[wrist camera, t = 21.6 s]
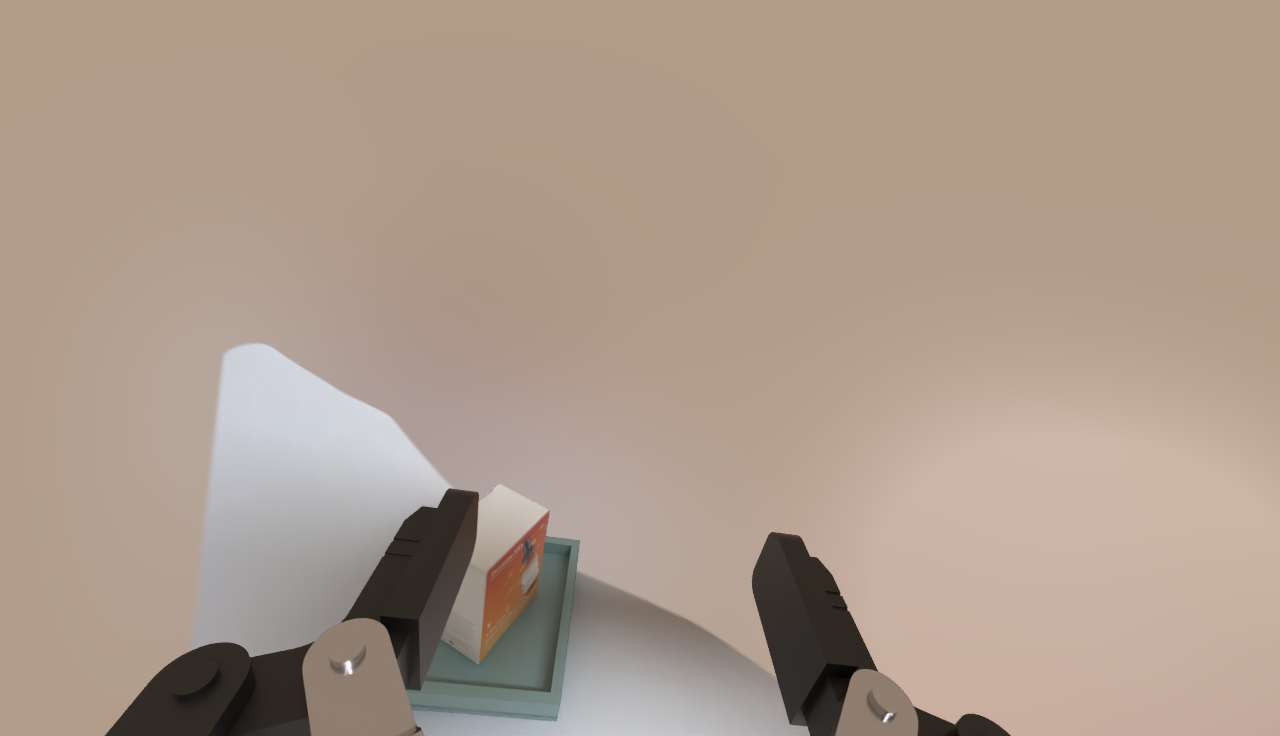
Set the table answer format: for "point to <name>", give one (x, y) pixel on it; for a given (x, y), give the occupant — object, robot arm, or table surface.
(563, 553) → the tray
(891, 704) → the robot arm
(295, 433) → the table surface
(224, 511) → the table surface
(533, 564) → the small box
